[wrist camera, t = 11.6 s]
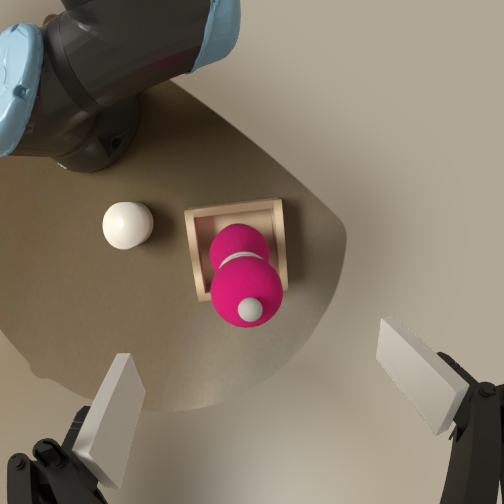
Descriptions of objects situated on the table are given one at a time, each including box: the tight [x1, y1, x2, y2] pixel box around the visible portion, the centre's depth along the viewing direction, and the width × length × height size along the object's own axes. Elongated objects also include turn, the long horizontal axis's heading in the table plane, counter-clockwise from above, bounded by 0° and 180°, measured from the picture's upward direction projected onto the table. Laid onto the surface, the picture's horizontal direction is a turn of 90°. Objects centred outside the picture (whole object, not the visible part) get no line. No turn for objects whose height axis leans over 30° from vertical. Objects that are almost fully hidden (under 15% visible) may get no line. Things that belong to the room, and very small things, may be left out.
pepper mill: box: [210, 223, 283, 328], centre depth 29 cm, size 7×7×20 cm
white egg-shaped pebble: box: [103, 202, 154, 249], centre depth 35 cm, size 6×6×4 cm
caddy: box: [184, 197, 288, 301], centre depth 38 cm, size 12×12×4 cm
